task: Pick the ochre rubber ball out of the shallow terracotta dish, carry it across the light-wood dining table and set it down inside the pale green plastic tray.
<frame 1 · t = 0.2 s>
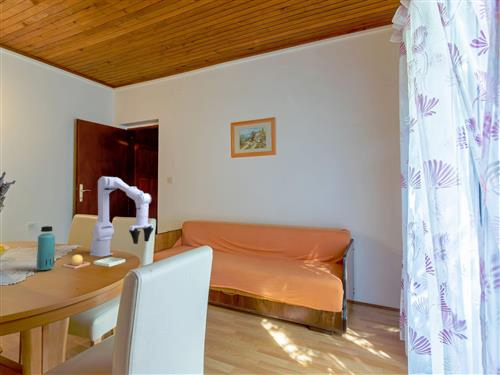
hand: (141, 242, 142), 10 cm above the table, fingers open, 7 cm apart
tray: (109, 263, 136), on the table
ball: (76, 265, 130), resting on dish
dish: (76, 266, 130), on the table
beverage bottle: (45, 271, 121), on the table
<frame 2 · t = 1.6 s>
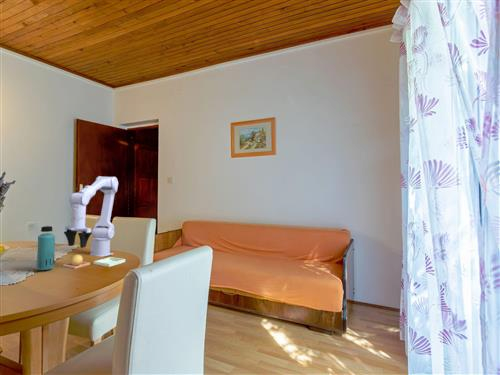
hand: (77, 246, 130), 10 cm above the table, fingers open, 7 cm apart
nothing on the table moved.
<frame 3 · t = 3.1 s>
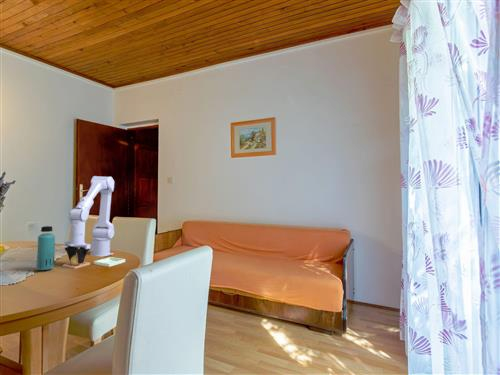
hand: (76, 262, 130), 2 cm above the table, fingers closed on ball, 5 cm apart
ball: (76, 265, 130), resting on dish, touching gripper
everything else where it was.
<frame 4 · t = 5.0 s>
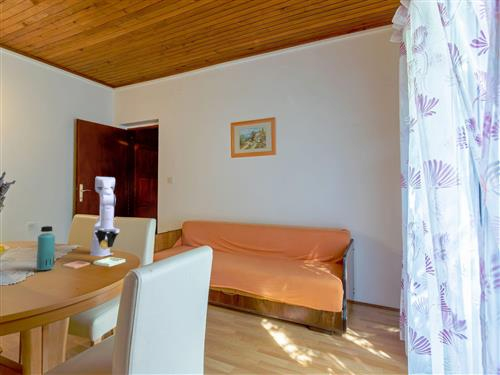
hand: (106, 246, 135), 9 cm above the table, fingers closed on ball, 5 cm apart
ball: (105, 249, 135), point 7 cm above the table, touching gripper
everything else where it was.
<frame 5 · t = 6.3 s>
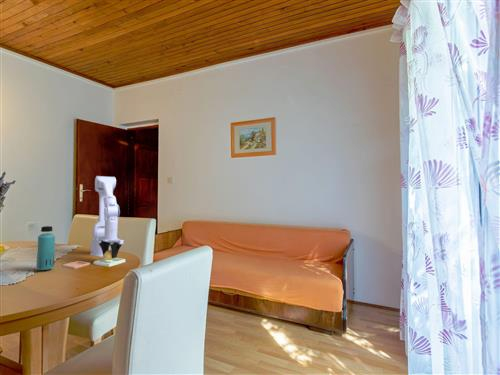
hand: (109, 257, 136), 3 cm above the table, fingers closed on ball, 5 cm apart
ball: (109, 260, 136), point 2 cm above the table, touching gripper
everything else where it was.
when the fingers open (3 cm above the table, at t = 7.1 s): ball drops 1 cm, resting on tray.
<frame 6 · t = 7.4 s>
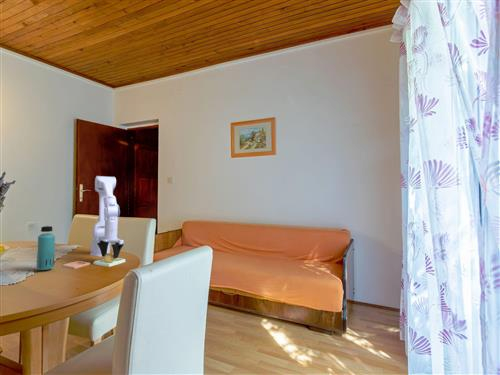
hand: (109, 257, 136), 3 cm above the table, fingers open, 7 cm apart
ball: (109, 263, 136), resting on tray
everything else where it was.
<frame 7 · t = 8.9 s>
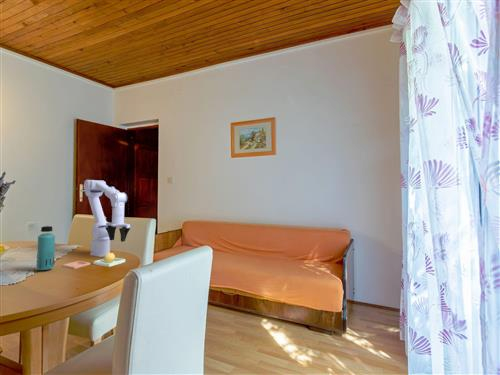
hand: (117, 240, 145), 10 cm above the table, fingers open, 7 cm apart
nothing on the table moved.
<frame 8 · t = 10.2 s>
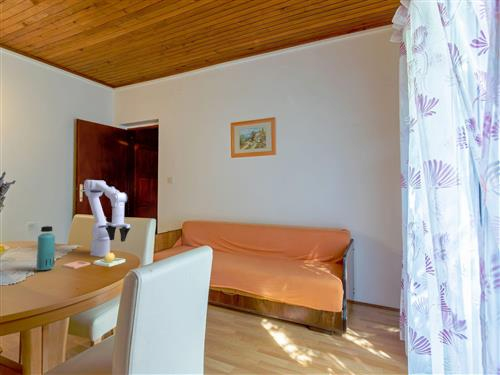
hand: (117, 240, 145), 10 cm above the table, fingers open, 7 cm apart
nothing on the table moved.
at the end: ball inside the target area on the tray (0.2 cm from its centre), point 0.5 cm above the tray's base; the gripper is holding nothing; ball touching tray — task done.
